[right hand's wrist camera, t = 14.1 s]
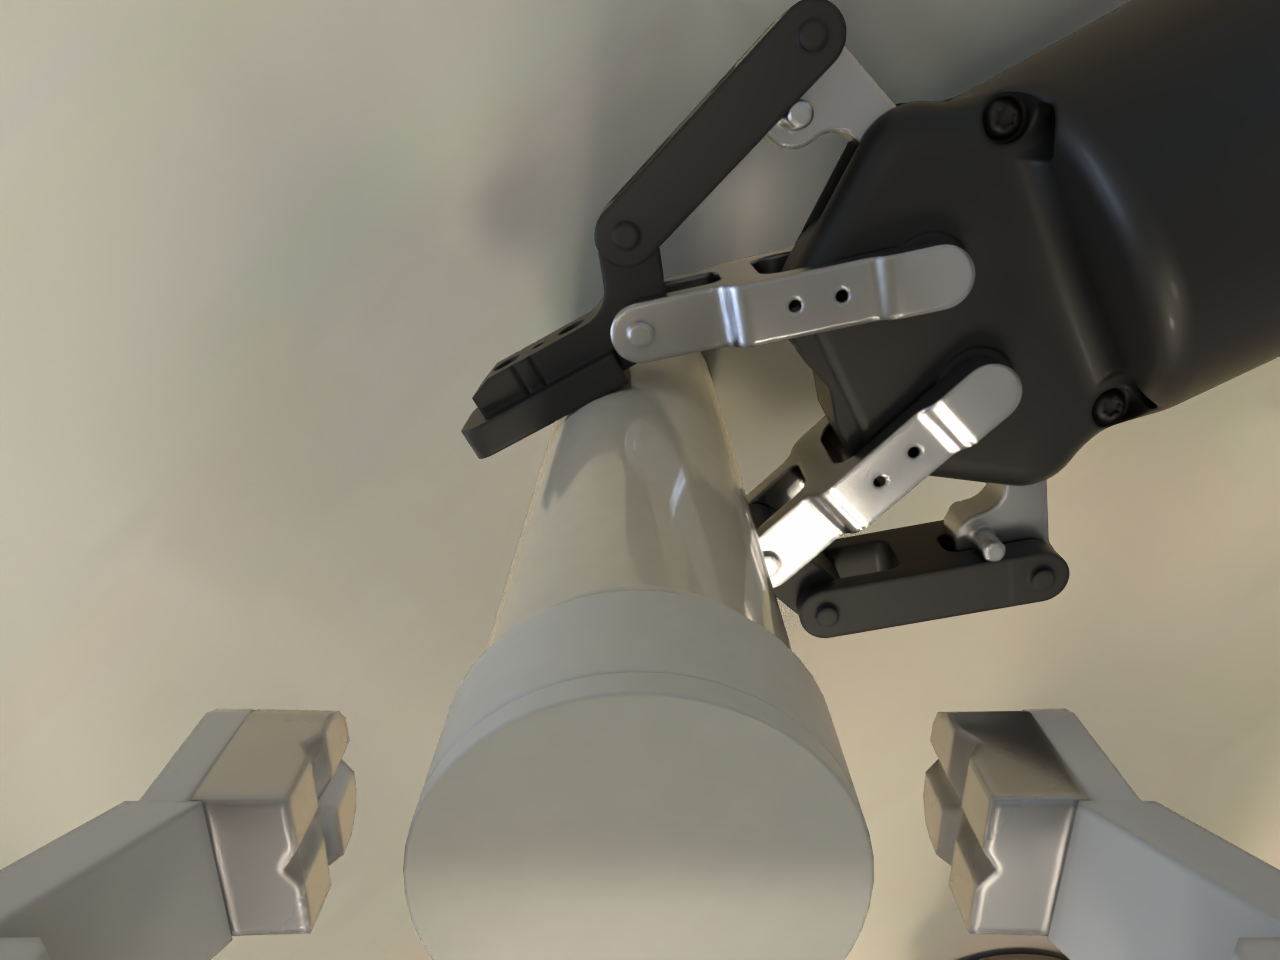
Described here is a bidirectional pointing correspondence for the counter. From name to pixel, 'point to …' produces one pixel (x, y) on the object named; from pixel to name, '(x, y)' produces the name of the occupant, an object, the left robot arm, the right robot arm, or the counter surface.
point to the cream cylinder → (642, 504)
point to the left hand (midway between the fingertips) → (536, 522)
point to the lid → (638, 796)
